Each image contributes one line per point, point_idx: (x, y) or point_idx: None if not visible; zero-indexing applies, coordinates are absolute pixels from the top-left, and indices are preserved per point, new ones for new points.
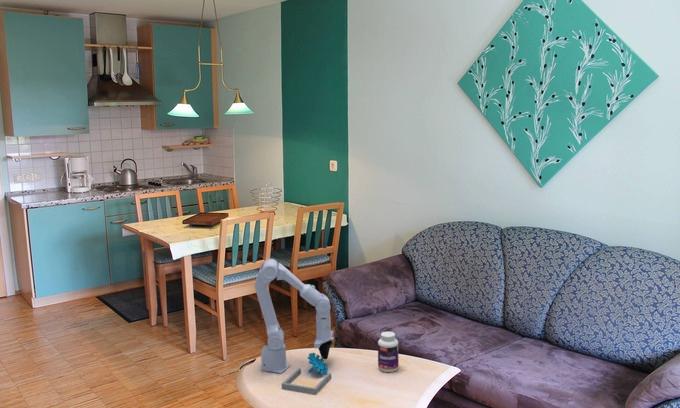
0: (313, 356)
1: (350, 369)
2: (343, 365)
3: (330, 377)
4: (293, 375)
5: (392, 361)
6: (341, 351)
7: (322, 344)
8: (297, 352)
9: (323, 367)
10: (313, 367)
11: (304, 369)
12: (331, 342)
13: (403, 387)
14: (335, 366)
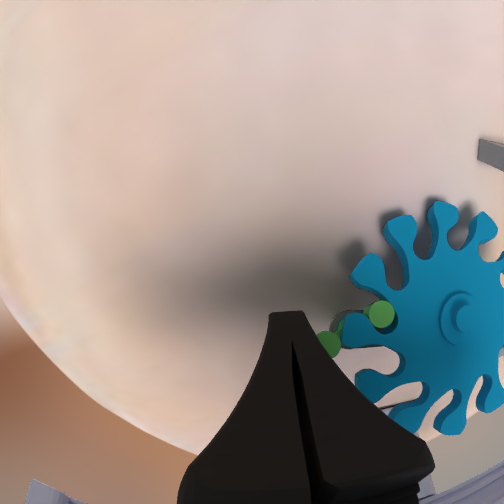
0: (429, 401)
1: (266, 21)
2: (204, 129)
3: (499, 144)
4: (501, 347)
5: None
6: (20, 278)
7: (411, 496)
8: (188, 437)
9: (441, 258)
10: None
11: (376, 359)
12: (258, 496)
13: None
14: (261, 193)
